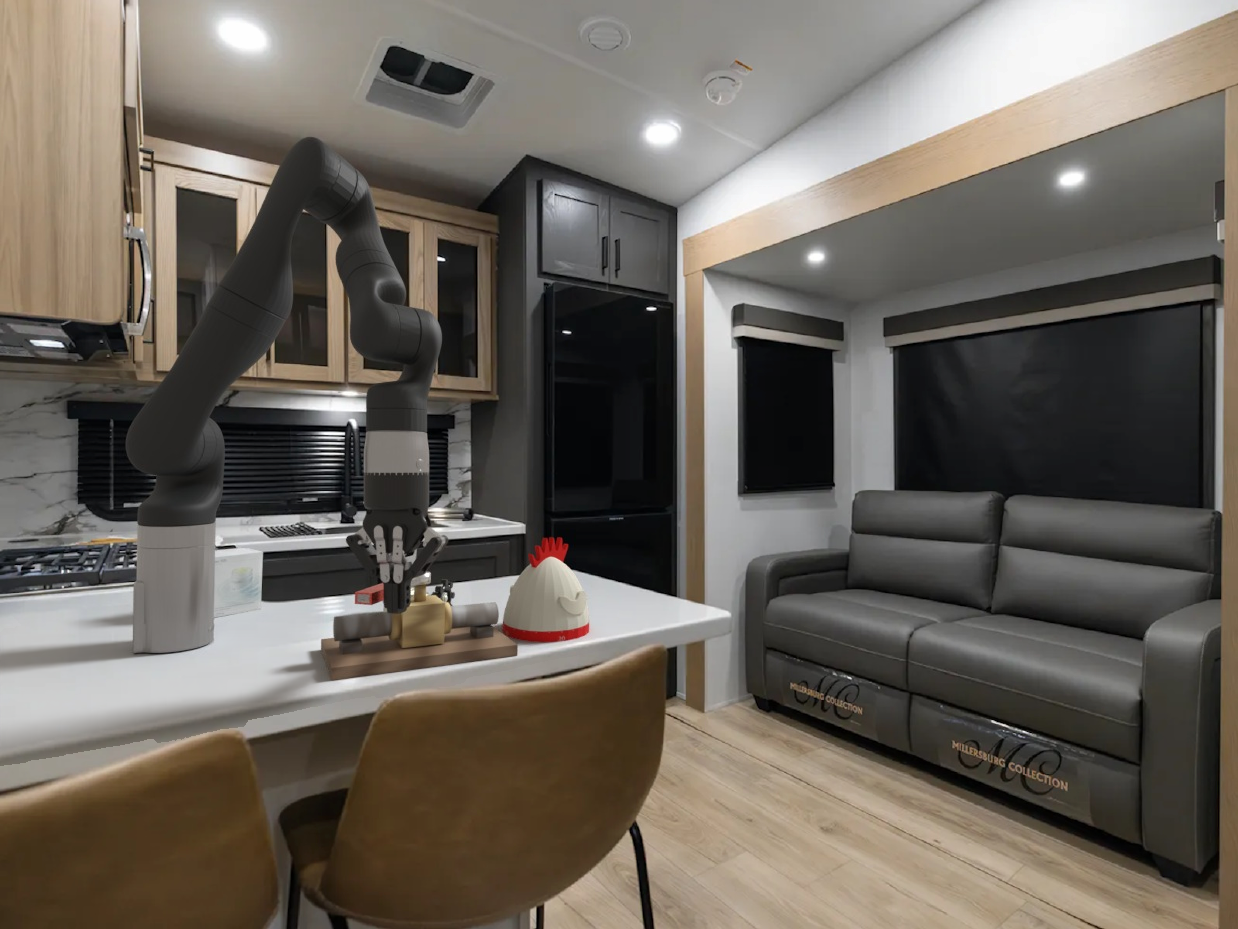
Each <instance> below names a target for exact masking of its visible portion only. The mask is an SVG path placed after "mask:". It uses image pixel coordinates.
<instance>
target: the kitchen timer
mask: <svg viewBox="0 0 1238 929" xmlns="http://www.w3.org/2000/svg"><path fill="white" fill-rule="evenodd" d="M534 549H535V550H534V551H535V555H534V554H531V553H528V560H529V565H528V566H526V567H525V568H524V570H522V572H521V573H520V574H519V576H518V578H517V579H515V580H516V581H515V582H514V584H512V585H510V588H509V596H508V599H507V601H506V606H505V608H504V612H503V618H502V633H503V634H504V635H505V636H507V637H508V638H511V639H514V640H519V641H524V642H525V641H526V642H533V643H534V642H535V643H538V642H539V643H556V642H564V641H565V642H566V641H571V640H577V639H580V638H582V637H584V636H587V635H588V633H590V613H589V607H588V603H587V600H588V598H587V596H588V595H587V593H586V591H585V590H584V589H583V587H582V585H581V582H580V581H579V579H578V578H577V575H576V574H575V573H574V572H573V570H572V569H571V568H570V567H569V566H568V565H567V564H566V563H564V561H565V558H566V555H567V551H568V549H569V544H568V543H563V538H562V537H559V536H558V537H557V538H556V541H555V538H554V537H552V536H549V538H548V537H542V539H541V546H540V545H535V546H534Z"/></svg>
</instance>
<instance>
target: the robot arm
mask: <svg viewBox="0 0 1238 929" xmlns="http://www.w3.org/2000/svg"><path fill="white" fill-rule="evenodd" d="M303 211H305V212H307V213H308V214H309V215H311V216H312V217H314V218H315V219H316V220H318V221H319V222H320V223H322V224H325V225H327V226H328V227H330V229H332V230H333V232H334V233H335V234H336V235H337V236H338V238H339V239H340V240H341V241H340V242H339V244H338V245H337V248H336V251H335V265H336V266H335V267H336V270H337V274H338V277H339V279H340V281H341V283H342V286H343V288H344V291H345V293H346V295H347V297H348V303H349V313H350V314H349V315H350V319H349V320H350V321H349V340H350V343H351V345H352V347H353V348H354V349H355V351H356V352H357V353H358V354H359V355H360V356H361V357H363V358H365V359H367V360H370V361H373V362H382V363H390V364H398V365H399V364H400V365H403V369H402V372H401V374H400V376H399V378H398V379H397V380H392V381H391V380H390V381H382V382H377V383H374V384H372V385H370V386H369V387H368V389H367V391H366V396H365V397H366V399H365V406H366V407H365V408H366V411H365V431H366V433H365V442H364V448H363V506H364V508H365V516H364V518H363V520H362V527H361V528H360V529H358V531H356V532H355V533H354V534H350V535H347V536H346V538H345V543H346V544H347V546H348V547H349V549H350V550H351V552H352V553H353V555H354V556H355V557H356V559H357V561H359V563H360V564H361V566H362V568H363V569H364V571H365V572H366V574H367V575H368V576H369V577H371V578H374V577H376V578H378V579H380V580H381V582H382V583H383V585H384V604H383V607H385V608H387V612H388V613H393V614H401V613H403V612H405V611H406V610H407V607H409V606H410V603H411V581H412V579H413V578H415V577H418V576H421V575H424V574H425V573H426V571H427V572H428V571H429V569H430V568H431V567H432V565H433V564H434V562H435V561H436V559H437V558H438V557H439V555H440V554H441V553H442V551H443V550H444V549H445V547H446V546H447V544H448V543H449V538H448V536H447V535H445V534H442V535H440V534H439V533H438V532H437V531H436V530H435V529H433V528H432V520H431V518H430V516H429V506H430V449H429V440H428V433H427V432H428V398H429V393H430V389H431V385H432V381H433V377H434V373H435V371H436V367H437V363H438V359H439V356H440V353H441V350H442V343H443V332H442V328H441V326H440V323H439V321H438V320H437V318H436V316H434V314H433V313H432V312H431V311H429V310H426V309H423V308H418V307H413V306H406V305H404V304H405V302H406V299H407V290H406V285H405V283H404V280H403V279H402V277H401V275H400V273H399V270H398V269H397V267H396V265H395V263H394V260H393V259H392V257H391V254H390V253H389V251H388V249H387V246H386V244H385V242H384V238H383V235H382V232H381V228H380V223H379V220H378V215H377V210H376V207H375V202H374V197H373V194H372V190H371V188H370V185H369V183H368V181H367V180H366V178H365V177H364V175H363V174H362V173H361V172H360V171H359V170H358V169H357V168H355V166H353V165H352V164H351V163H350V162H348V161H347V160H346V159H345V158H344V157H343V156H341V155H340V154H339V153H338V152H336V151H335V150H334V149H333V148H331V147H330V146H329V145H328V144H327V143H325V142H324V141H322V140H321V139H320V138H318V137H315V136H306V137H303V138H301V139H300V140H298V141H297V142H296V143H295V144H294V145H293V146H292V147H291V148H290V150H289V151H288V152H287V153H286V155H285V156H284V158H283V159H282V161H281V163H280V165H279V167H278V169H277V170H276V172H275V175H274V177H273V179H272V182H271V183H270V186H269V188H268V190H267V192H266V195H265V197H264V199H263V202H262V203H261V206H260V208H259V211H258V213H257V216H256V218H255V220H254V222H253V224H252V226H251V228H250V230H249V232H248V234H247V235H246V238H245V239H244V241H243V243H242V244H241V246H240V248H239V250H238V252H237V254H236V255H235V257H234V259H233V261H232V262H231V264H230V265H229V267H228V269H227V271H226V272H225V274H224V275H223V277H222V278H221V280H220V281H219V283H218V285H217V286H216V288H215V289H214V291H213V293H212V295H211V297H210V298H209V300H208V302H207V303H206V305H205V308H204V310H203V312H202V314H201V316H200V318H199V320H198V322H197V323H196V325H195V327H194V328H193V330H192V331H191V334H190V335H189V337H188V339H187V340H186V341H185V344H184V346H183V347H182V349H181V351H180V352H179V354H178V356H177V358H176V360H175V361H174V363H173V365H172V366H171V368H170V369H169V371H168V372H167V374H166V376H165V377H164V378H163V379H162V381H161V382H160V383H159V385H158V386H157V388H156V389H155V390H154V392H153V393H152V395H150V396H149V398H148V400H147V401H146V402H145V404H144V405H143V406H142V408H141V409H140V410H139V412H138V414H137V415H136V416H135V417H134V419H133V421H131V425H130V426H129V428H128V431H127V434H126V437H125V438H126V439H125V451H126V454H127V458H128V460H129V462H130V463H131V464H132V466H133V467H134V468H135V469H136V470H138V471H140V472H141V473H144V474H146V475H152V476H156V478H155V485H154V489H153V490H152V492H151V494H150V495H149V497H147V498H146V499H145V500H144V501H143V502H141V503H140V504H139V505H138V509H137V522H136V523H137V528H136V535H137V536H136V537H137V538H136V541H137V542H136V546H137V547H136V580H135V582H134V583H133V592H132V593H133V596H132V597H133V598H132V653H133V654H137V653H148V654H149V653H151V654H157V653H159V654H160V653H161V654H162V653H172V652H181V651H188V650H192V649H196V648H200V647H203V646H206V645H208V644H210V643H213V642H214V638H215V637H214V636H215V633H214V632H215V618H214V592H215V550H216V521H217V520H216V519H217V510H218V508H219V506H220V503H221V501H222V497H223V491H224V476H225V475H224V472H225V459H226V458H225V457H226V454H225V453H226V451H225V450H226V449H225V446H226V445H225V439H224V435H223V433H222V430H221V428H220V426H219V425H218V424H217V422H216V421H214V419H212V418H211V414H212V412H213V411H214V409H215V407H216V405H217V404H218V402H219V401H220V398H222V396H223V394H225V393H226V391H227V390H228V389H229V388H230V386H231V385H233V384H234V383H235V382H236V381H237V380H238V379H240V377H241V376H243V375H244V374H245V373H247V371H249V370H250V369H251V368H252V367H253V366H254V365H255V364H256V363H258V361H259V360H261V359H262V358H263V357H264V356H265V355H266V353H268V352H269V349H270V348H271V347H272V345H273V344H274V343H275V341H276V339H277V337H278V335H279V334H280V332H281V331H282V329H283V327H284V324H285V323H286V321H287V320H288V317H289V316H290V314H291V313H292V312H291V311H292V307H293V302H294V284H293V271H292V261H291V260H292V258H291V256H292V254H291V252H292V250H291V249H292V241H293V237H294V233H295V230H296V228H297V225H298V222H299V219H300V217H301V216H302V213H303ZM421 544H422V546H423V549H421V552H420V553H419V554H418V555H417V552H418V551H417V550H418V548H419V546H420V545H421Z"/></svg>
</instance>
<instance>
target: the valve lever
mask: <svg viewBox="0 0 1238 929" xmlns="http://www.w3.org/2000/svg"><path fill="white" fill-rule="evenodd" d="M431 576H432V573H431V572H430V571H428V570H427V571H426V573H425V574H424V575H421V576H418V577H415V578H413V579H412V581H411V587H412V588H414V586H416V585H425V584H426V585H429V584H431V582H432V581H431V580H432V579H431V578H432V577H431ZM383 600H384V585H383V582H382V583H379V584H376V585H372V586H370V587H366V588H364V589H361V590H358V591H355V592H354V604H355V605H363V606H364V605H366V606H367V605H368V606H373V605H376V604H377V603H380V602H382V601H383Z"/></svg>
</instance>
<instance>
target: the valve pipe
mask: <svg viewBox="0 0 1238 929" xmlns="http://www.w3.org/2000/svg"><path fill="white" fill-rule="evenodd" d="M413 588H414V597H411V603H410V606H409V607H407V610H406V611H405V612H403V613H401V614H393V613H388V612H373V613H360V614H349V615H339V616H336V615H335V616H334V617H333V625H332V626H333V627H332V630H333V631H332V632H333V637H330V638H329V637H327V638H321V640H320V644H321V645H320V651H321V654H322V656H323V659H324V663H325V666H326V669H327V672H328V674H329V678H330V681H334V680H335V681H336V680H344V679H351V678H359V677H367V676H373V675H380V674H389V673H395V672H396V673H397V672H403V671H411V670H418V669H425V668H426V669H427V668H432V667H439V666H448V665H455V664H456V665H457V664H463V663H470V662H471V663H472V662H477V661H487V660H493V659H501V658H502V659H503V658H507V657H516V656H518V648H519V647H518V644H517V643H516V642H515V641H514V640H512V638H511V639H510V637H509V636H507V635H505V634H504V632H501V631H500V630H498V629H497V628H496V627H495V626H493V625H497V624H498V622H499V614H500V612H499V607H498V604H497V603H496V602H495V601H494V602H483V603H472V604H469V603H468V604H459V605H453V606H450V604H449V603H448V602H443V601H442V600H441V599H439V598H438V597H437V596H436V595H432V596H426V592H427V584H425V585H416V586H413Z"/></svg>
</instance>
